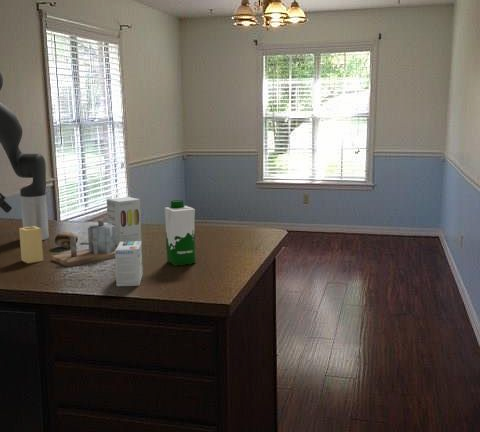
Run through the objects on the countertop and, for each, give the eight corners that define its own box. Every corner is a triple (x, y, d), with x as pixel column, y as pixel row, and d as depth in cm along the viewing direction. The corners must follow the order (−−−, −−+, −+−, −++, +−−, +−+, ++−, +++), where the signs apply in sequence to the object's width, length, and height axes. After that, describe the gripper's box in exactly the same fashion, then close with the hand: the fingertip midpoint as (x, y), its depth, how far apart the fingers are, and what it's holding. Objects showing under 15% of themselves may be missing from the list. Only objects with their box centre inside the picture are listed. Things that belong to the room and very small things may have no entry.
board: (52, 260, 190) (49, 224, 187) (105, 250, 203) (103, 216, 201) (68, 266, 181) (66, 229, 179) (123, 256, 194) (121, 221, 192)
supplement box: (119, 247, 207) (117, 201, 204) (107, 243, 214) (105, 198, 211) (142, 243, 213) (140, 198, 210) (129, 239, 220) (127, 196, 217)
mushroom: (69, 242, 201) (67, 226, 204) (50, 249, 203) (49, 234, 206) (83, 248, 208) (81, 233, 211) (65, 255, 210) (63, 240, 213)
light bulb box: (120, 276, 170) (118, 241, 168) (143, 275, 171) (141, 240, 169) (115, 286, 160) (114, 249, 158) (140, 286, 160) (138, 248, 158)
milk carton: (188, 257, 191) (186, 199, 187) (199, 264, 183) (197, 202, 179) (163, 261, 187) (161, 201, 183) (173, 267, 179) (171, 204, 175)
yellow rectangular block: (21, 260, 189) (19, 228, 187) (36, 257, 193) (34, 226, 191) (27, 263, 185) (25, 230, 184) (43, 260, 189) (40, 228, 187)
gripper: (-16, 164, 167) (21, 202, 176) (-37, 164, 176) (0, 200, 185) (-34, 183, 163) (5, 220, 173) (-54, 181, 172) (-16, 217, 182)
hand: (3, 209), depth 179 cm, fingers open, 8 cm apart
